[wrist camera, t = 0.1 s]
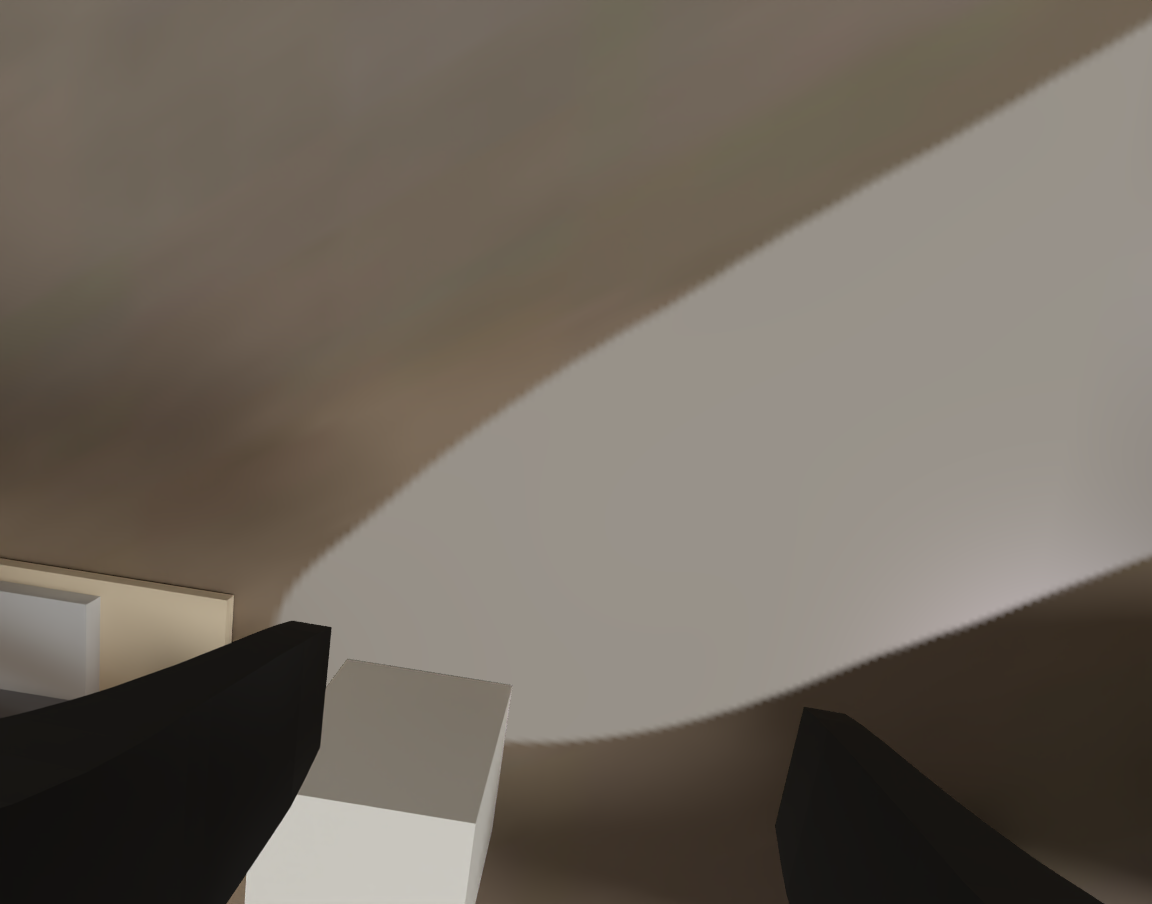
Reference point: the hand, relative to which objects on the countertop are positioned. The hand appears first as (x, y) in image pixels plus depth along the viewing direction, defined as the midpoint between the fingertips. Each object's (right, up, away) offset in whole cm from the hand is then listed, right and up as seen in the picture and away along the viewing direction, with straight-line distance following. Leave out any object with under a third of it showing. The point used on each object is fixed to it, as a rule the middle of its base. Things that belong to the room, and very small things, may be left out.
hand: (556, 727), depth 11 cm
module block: (-4, -5, +12) cm, 13 cm away
